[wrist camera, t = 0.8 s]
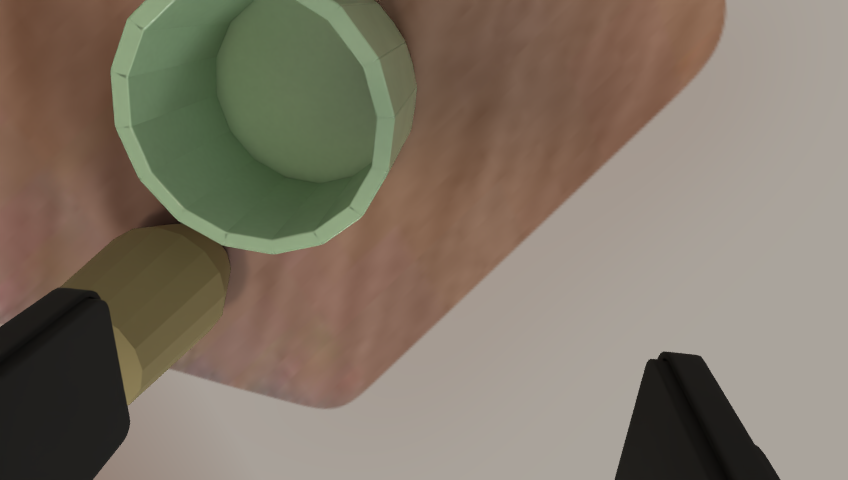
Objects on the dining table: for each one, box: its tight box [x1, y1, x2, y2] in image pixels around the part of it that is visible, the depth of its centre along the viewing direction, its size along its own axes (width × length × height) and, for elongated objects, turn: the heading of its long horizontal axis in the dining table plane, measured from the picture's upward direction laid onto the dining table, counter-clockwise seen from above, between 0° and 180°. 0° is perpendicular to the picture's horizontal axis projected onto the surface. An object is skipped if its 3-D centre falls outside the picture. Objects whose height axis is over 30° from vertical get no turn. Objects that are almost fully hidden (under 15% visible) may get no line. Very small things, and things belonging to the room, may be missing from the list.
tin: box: [110, 0, 417, 254], centre depth 29 cm, size 13×13×10 cm
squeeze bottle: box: [60, 224, 231, 406], centre depth 31 cm, size 8×8×18 cm
